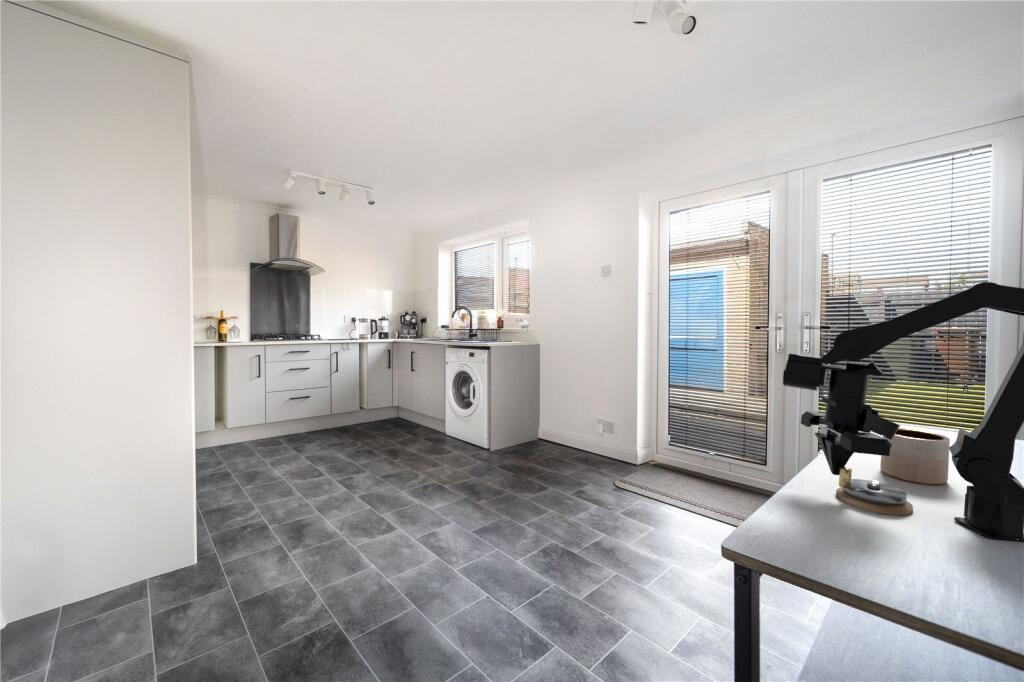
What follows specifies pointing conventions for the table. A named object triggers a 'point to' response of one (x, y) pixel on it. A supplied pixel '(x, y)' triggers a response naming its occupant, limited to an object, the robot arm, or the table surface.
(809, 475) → the table surface
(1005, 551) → the table surface
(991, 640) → the table surface
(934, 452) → the planter
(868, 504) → the stand
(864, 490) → the dial
